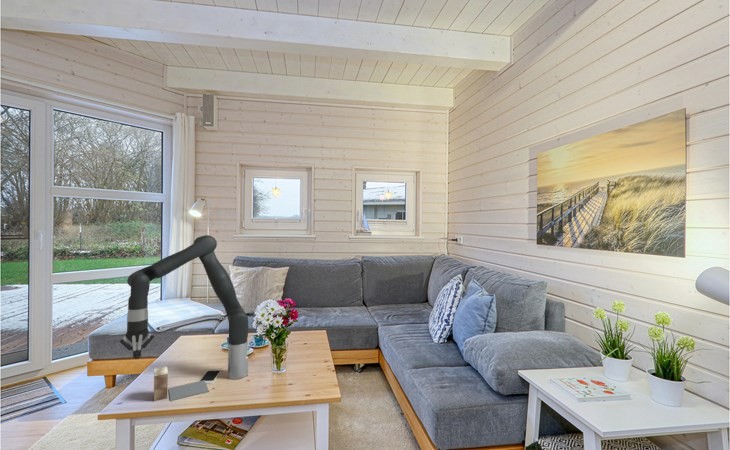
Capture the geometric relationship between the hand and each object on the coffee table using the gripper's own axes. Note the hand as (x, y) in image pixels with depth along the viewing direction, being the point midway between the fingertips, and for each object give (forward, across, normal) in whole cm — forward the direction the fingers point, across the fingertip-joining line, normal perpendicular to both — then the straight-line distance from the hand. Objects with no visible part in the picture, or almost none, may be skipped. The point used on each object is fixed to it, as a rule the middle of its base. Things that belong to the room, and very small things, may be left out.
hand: (136, 358), depth 145 cm
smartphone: (+20, -31, -10) cm, 38 cm away
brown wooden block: (+19, -9, 0) cm, 21 cm away
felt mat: (+19, -20, 0) cm, 28 cm away
